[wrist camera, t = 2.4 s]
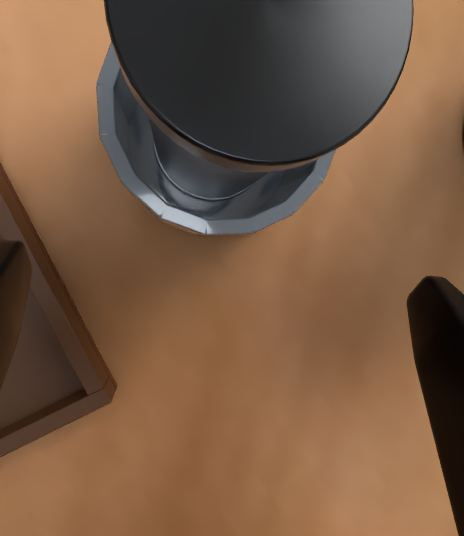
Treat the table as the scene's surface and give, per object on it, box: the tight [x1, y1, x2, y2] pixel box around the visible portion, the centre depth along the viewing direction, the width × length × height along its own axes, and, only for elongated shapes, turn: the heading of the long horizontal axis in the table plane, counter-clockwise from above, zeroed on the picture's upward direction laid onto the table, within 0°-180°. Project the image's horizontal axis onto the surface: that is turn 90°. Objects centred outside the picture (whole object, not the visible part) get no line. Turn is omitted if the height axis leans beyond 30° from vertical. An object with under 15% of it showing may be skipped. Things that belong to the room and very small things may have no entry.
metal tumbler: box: [104, 0, 413, 201], centre depth 14 cm, size 6×6×12 cm
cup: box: [96, 41, 336, 236], centre depth 17 cm, size 9×9×6 cm
